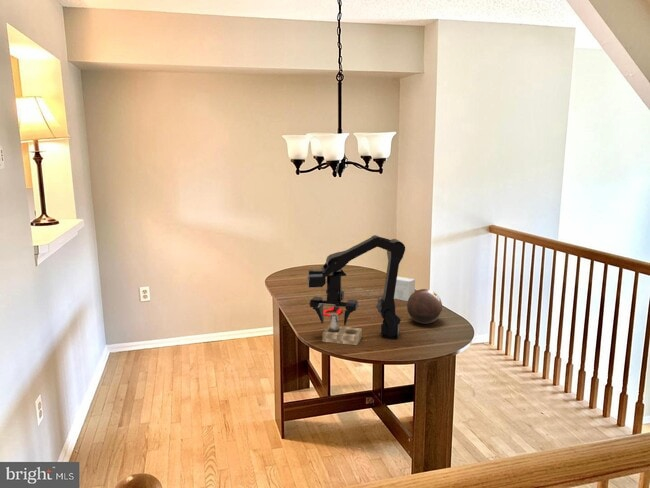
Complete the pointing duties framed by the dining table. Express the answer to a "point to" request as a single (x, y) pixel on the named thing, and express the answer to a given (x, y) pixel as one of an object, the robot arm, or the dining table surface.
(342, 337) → the pin block
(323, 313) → the tow hook
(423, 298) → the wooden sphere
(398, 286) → the skincare box
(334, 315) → the metal pin
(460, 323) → the dining table surface
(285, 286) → the dining table surface
